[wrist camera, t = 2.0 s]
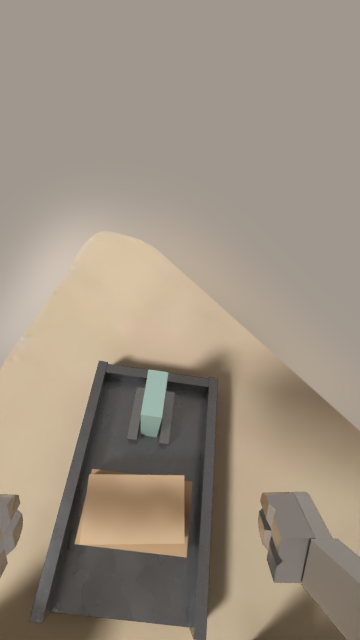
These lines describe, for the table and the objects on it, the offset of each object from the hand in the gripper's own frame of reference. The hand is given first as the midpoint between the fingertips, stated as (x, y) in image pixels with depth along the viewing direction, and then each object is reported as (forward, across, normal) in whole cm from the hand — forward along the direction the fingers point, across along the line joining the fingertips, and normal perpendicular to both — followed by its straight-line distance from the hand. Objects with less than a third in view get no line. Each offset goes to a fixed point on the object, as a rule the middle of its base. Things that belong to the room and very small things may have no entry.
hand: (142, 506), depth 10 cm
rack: (+18, +2, +16) cm, 24 cm away
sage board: (+22, +1, +12) cm, 25 cm away
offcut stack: (+15, +2, +18) cm, 24 cm away
